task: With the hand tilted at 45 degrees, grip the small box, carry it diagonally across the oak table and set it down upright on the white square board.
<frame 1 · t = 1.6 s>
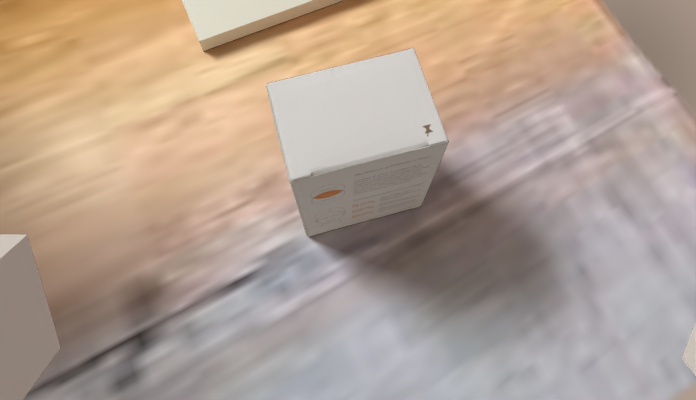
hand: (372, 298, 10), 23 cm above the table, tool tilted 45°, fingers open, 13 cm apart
small box: (353, 186, 35), on the table
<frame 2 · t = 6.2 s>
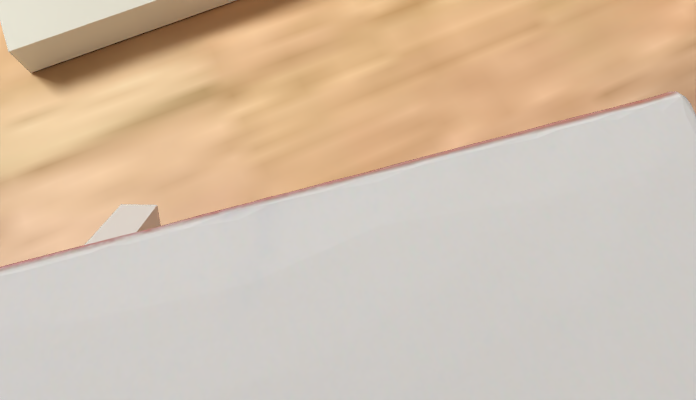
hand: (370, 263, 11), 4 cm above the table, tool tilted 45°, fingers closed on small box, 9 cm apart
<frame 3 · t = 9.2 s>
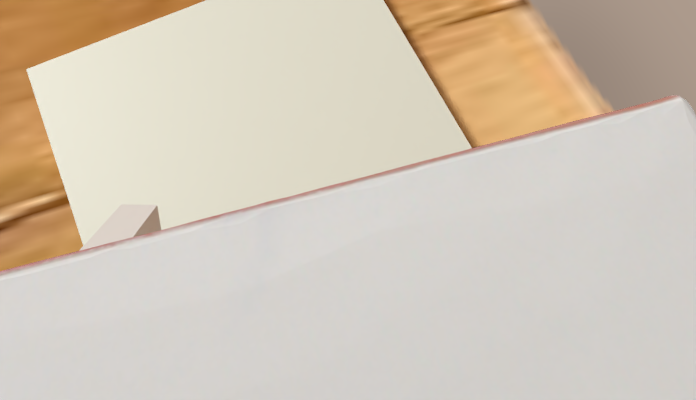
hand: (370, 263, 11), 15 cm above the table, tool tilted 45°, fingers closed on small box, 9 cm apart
white square board: (264, 155, 29), on the table
when the fingers open (6 cm above the table, at t = 12.5 s): small box stays where it is, resting on white square board.
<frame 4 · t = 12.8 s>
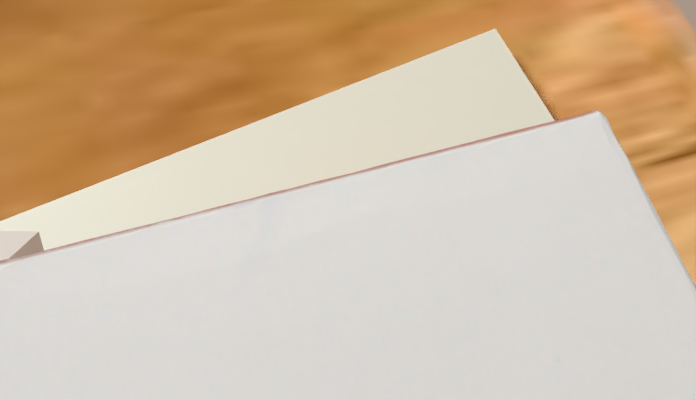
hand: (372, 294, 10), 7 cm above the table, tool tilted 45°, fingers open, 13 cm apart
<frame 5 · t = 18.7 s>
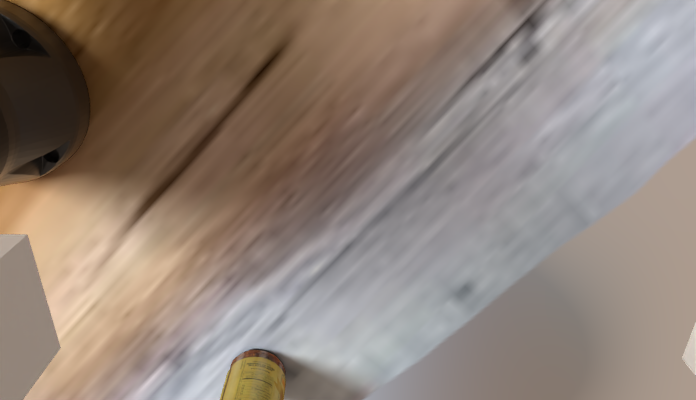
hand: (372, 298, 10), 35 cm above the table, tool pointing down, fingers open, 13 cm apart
sauce bottle: (260, 365, 57), on the table
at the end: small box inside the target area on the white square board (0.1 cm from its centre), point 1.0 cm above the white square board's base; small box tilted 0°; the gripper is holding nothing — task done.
